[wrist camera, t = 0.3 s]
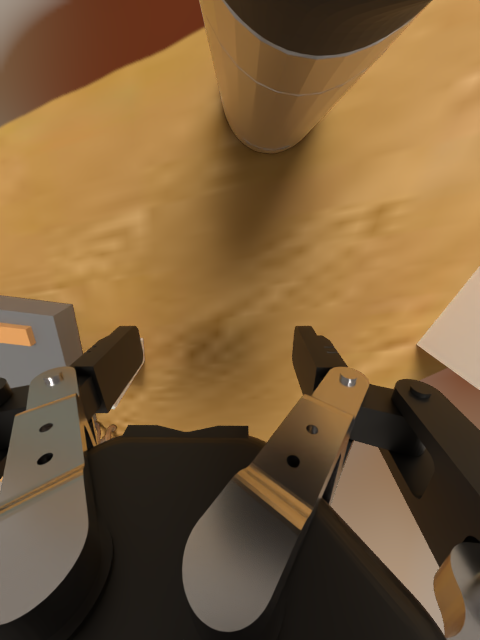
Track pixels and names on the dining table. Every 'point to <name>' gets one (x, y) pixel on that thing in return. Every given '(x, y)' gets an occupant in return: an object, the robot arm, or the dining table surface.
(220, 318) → the dining table surface
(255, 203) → the dining table surface
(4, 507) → the robot arm
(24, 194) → the dining table surface
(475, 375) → the milk
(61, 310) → the grey board with slot
